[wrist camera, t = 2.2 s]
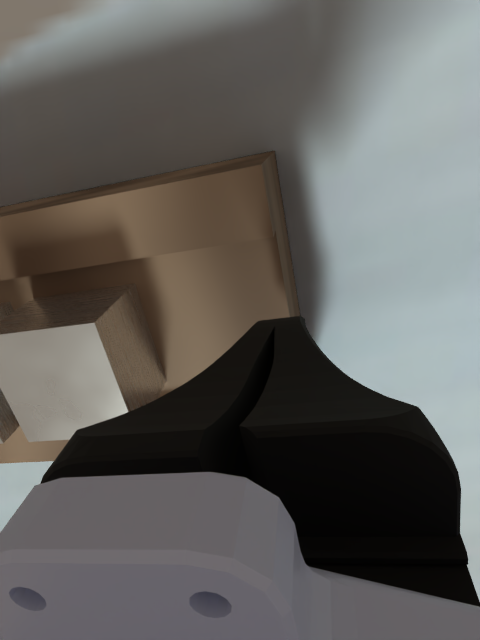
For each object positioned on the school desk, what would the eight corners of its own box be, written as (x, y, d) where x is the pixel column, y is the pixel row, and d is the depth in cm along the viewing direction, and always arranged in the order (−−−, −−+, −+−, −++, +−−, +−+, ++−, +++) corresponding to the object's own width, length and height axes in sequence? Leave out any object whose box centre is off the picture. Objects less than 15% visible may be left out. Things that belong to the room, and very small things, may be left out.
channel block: (274, 150, 15) (261, 164, 11) (309, 377, 19) (309, 448, 15) (-57, 218, 19) (-162, 249, 15) (33, 400, 23) (-29, 464, 19)
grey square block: (134, 283, 14) (94, 322, 12) (166, 381, 16) (137, 435, 13) (33, 298, 15) (-27, 337, 12) (73, 389, 17) (28, 441, 14)
